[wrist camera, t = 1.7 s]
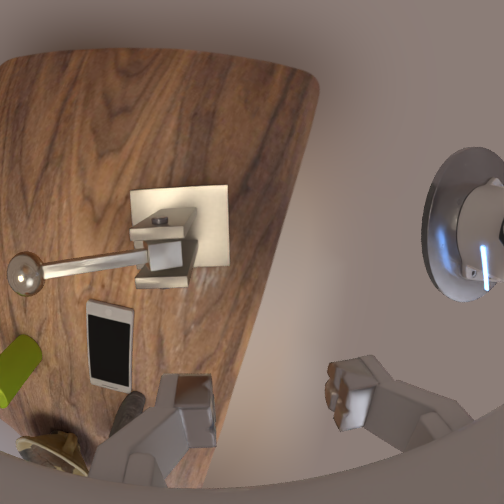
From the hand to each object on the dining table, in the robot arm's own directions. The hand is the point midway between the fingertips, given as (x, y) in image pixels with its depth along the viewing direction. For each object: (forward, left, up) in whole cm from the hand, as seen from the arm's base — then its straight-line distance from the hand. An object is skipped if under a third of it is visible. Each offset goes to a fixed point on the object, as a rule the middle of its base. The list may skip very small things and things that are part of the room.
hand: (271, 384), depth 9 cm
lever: (+12, +4, -16) cm, 21 cm away
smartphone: (+12, +23, -30) cm, 40 cm away
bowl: (+21, +53, -30) cm, 65 cm away
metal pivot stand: (+6, +2, -30) cm, 31 cm away
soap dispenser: (+28, +30, -30) cm, 51 cm away
